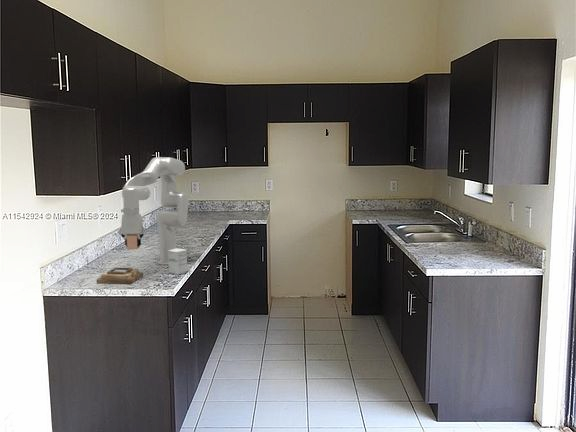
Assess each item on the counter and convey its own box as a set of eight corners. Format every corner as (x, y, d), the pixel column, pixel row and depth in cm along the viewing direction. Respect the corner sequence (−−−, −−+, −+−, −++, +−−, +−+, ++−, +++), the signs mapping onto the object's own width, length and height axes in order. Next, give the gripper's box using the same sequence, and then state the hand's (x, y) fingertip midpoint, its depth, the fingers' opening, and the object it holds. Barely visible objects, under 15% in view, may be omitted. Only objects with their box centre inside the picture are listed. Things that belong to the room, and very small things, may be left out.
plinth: (110, 275, 283) (110, 266, 282) (143, 276, 281) (142, 266, 280) (96, 283, 267) (96, 273, 266) (130, 284, 265) (130, 274, 264)
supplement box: (168, 272, 288) (167, 250, 286) (178, 270, 294) (177, 247, 292) (178, 274, 284) (177, 251, 282) (187, 271, 290) (187, 249, 288)
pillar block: (129, 247, 275) (128, 234, 274) (139, 247, 275) (138, 234, 274) (127, 249, 270) (126, 235, 269) (137, 249, 270) (136, 235, 269)
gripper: (112, 212, 266) (114, 248, 268) (146, 212, 267) (148, 247, 269) (116, 210, 273) (118, 245, 276) (149, 210, 274) (151, 244, 276)
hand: (133, 246), depth 272 cm, fingers closed on pillar block, 5 cm apart
